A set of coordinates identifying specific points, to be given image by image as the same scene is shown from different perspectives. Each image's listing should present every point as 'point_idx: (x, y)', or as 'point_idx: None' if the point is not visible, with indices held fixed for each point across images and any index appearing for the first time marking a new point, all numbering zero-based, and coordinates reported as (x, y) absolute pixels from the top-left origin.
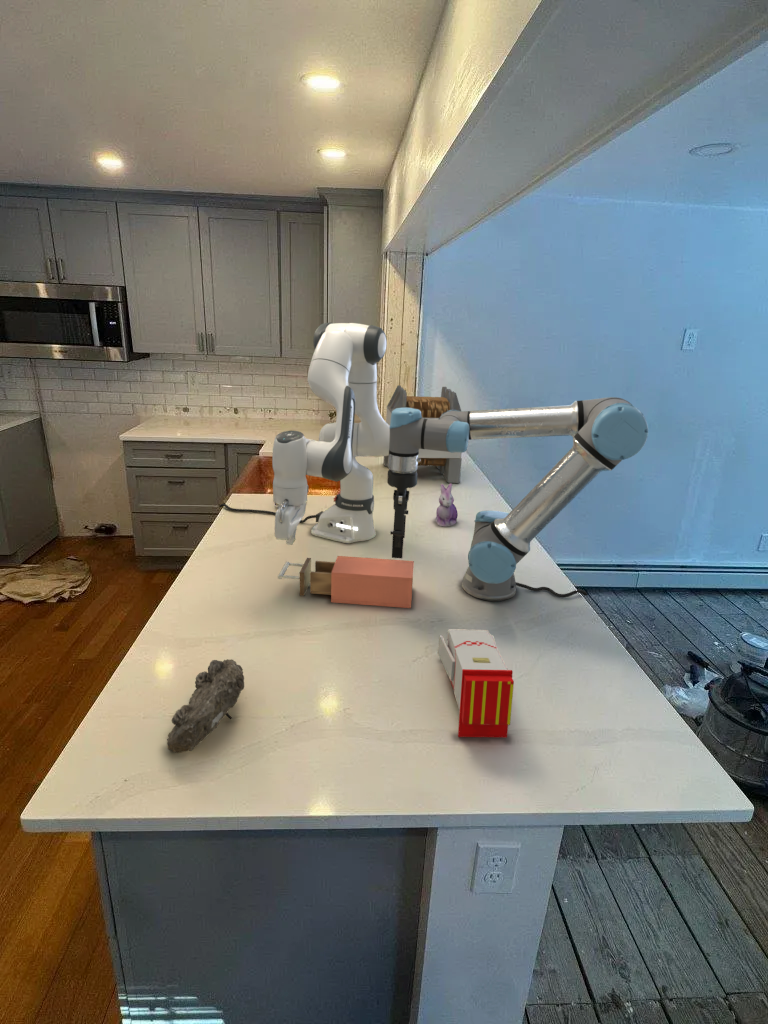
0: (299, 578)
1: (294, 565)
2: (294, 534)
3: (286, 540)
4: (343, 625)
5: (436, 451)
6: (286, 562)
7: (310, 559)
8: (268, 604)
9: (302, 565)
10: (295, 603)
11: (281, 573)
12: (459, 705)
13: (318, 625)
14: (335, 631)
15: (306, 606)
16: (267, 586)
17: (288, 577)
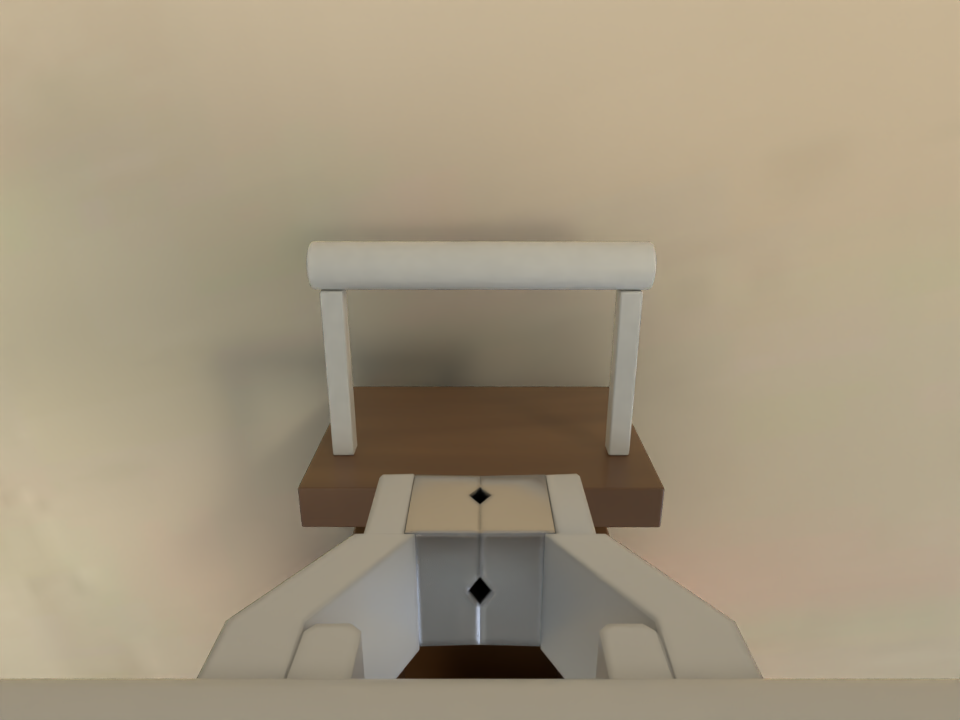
0: (333, 446)
1: (614, 341)
2: (557, 658)
3: (370, 511)
4: (109, 661)
5: None
6: (630, 263)
7: (627, 526)
8: (212, 166)
9: (609, 420)
10: (281, 360)
11: (351, 276)
12: None
13: (58, 544)
14: (32, 633)
15: (260, 438)
16: (510, 69)
17: (326, 348)
